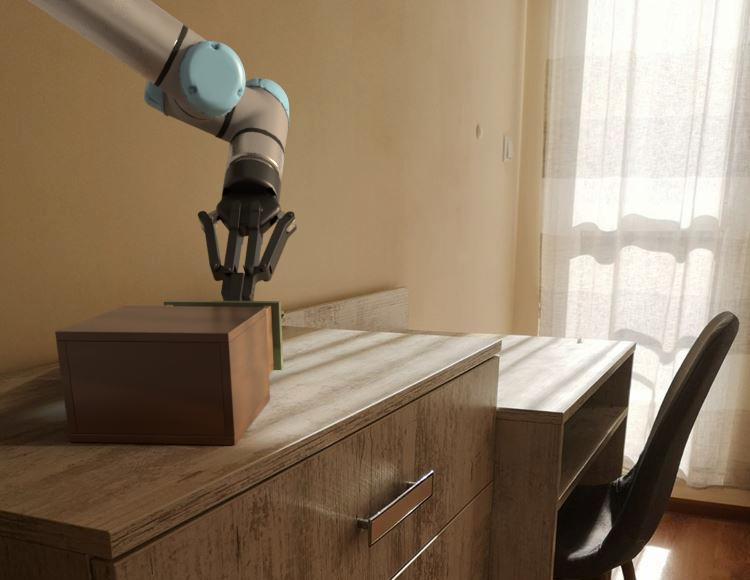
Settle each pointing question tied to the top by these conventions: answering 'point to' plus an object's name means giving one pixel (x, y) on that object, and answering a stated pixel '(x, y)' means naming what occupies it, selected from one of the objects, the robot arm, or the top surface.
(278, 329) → the drawer
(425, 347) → the top surface
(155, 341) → the cabinet
